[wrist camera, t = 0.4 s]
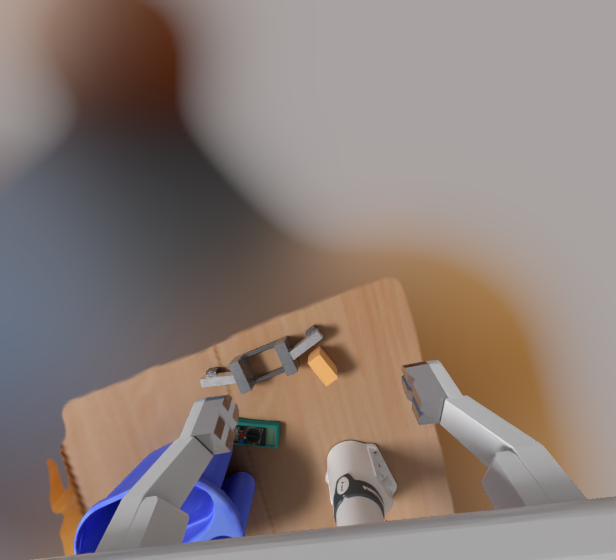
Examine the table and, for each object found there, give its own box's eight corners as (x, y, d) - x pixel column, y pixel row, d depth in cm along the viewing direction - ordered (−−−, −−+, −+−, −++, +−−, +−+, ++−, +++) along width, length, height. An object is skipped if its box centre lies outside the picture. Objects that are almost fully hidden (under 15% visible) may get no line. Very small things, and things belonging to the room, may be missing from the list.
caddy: (113, 464, 70) (10, 566, 47) (230, 406, 66) (182, 486, 43) (163, 544, 71) (87, 682, 48) (280, 492, 68) (260, 614, 44)
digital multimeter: (232, 415, 67) (228, 422, 64) (280, 420, 66) (278, 427, 63) (232, 437, 67) (228, 446, 64) (279, 442, 67) (277, 450, 64)
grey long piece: (318, 322, 62) (318, 327, 57) (330, 350, 63) (331, 358, 58) (205, 369, 65) (196, 378, 60) (218, 395, 66) (210, 406, 61)
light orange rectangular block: (336, 366, 63) (338, 377, 57) (325, 374, 64) (326, 386, 58) (319, 345, 63) (319, 354, 57) (308, 353, 63) (307, 363, 57)
